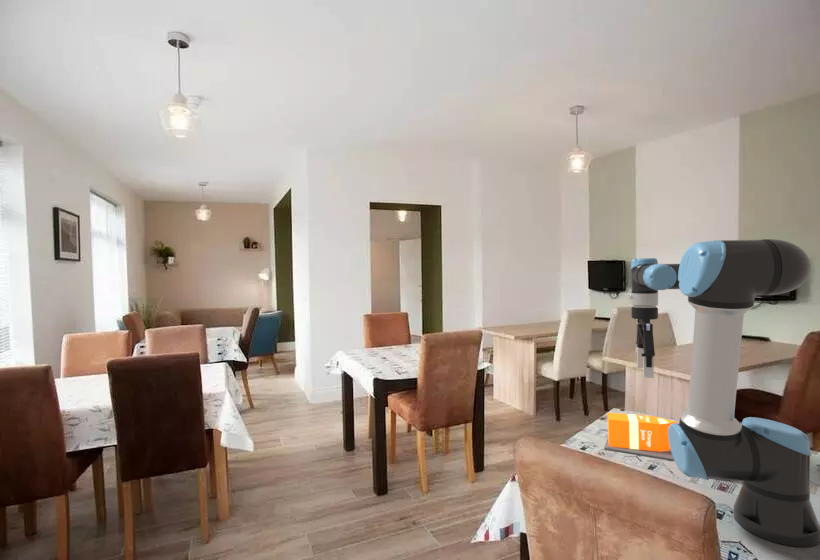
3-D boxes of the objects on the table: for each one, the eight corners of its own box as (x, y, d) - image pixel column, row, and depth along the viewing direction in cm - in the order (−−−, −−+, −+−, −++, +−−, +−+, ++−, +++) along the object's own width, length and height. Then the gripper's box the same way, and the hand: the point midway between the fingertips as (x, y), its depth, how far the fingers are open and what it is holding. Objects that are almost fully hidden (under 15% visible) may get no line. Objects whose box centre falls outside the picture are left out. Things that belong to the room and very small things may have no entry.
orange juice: (607, 412, 152) (675, 417, 144) (608, 438, 152) (675, 444, 144) (608, 419, 144) (680, 425, 137) (609, 446, 144) (680, 454, 137)
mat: (680, 462, 133) (680, 460, 133) (604, 449, 144) (604, 447, 144) (679, 445, 145) (679, 443, 145) (609, 434, 156) (609, 433, 156)
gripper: (627, 303, 156) (627, 363, 156) (636, 310, 132) (637, 381, 133) (651, 303, 153) (651, 364, 154) (665, 310, 130) (666, 382, 130)
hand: (645, 372), depth 143 cm, fingers open, 13 cm apart
